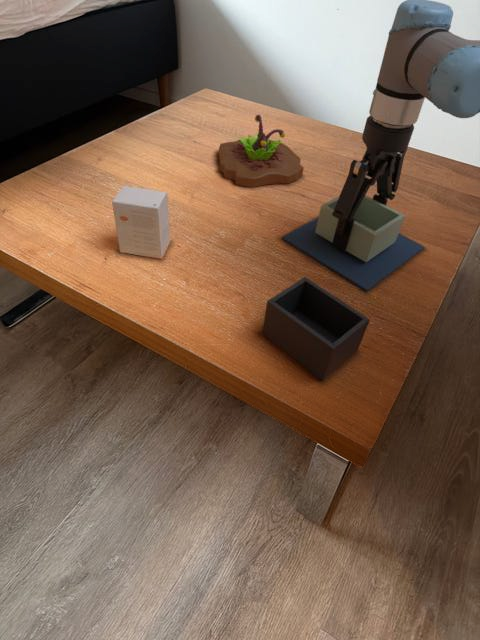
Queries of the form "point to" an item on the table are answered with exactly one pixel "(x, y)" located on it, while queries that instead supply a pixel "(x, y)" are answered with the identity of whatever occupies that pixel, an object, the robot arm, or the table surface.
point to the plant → (259, 160)
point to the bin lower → (314, 327)
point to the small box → (142, 221)
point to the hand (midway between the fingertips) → (355, 236)
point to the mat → (349, 264)
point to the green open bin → (363, 227)
